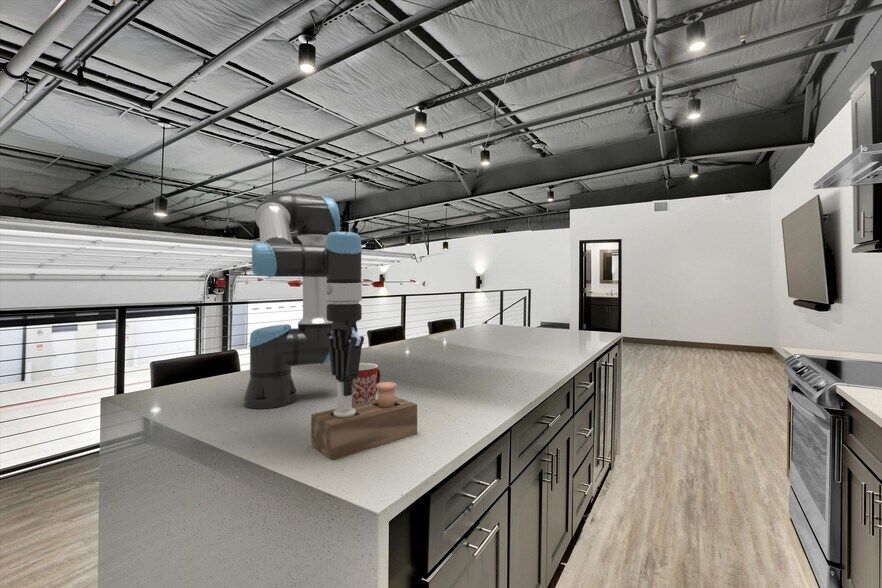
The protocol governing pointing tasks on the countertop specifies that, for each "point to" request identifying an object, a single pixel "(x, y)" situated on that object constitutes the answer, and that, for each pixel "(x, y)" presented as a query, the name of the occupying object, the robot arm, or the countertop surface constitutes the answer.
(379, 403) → the terracotta plug
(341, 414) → the cream plug
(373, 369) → the mug
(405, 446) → the countertop surface
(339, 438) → the walnut block
